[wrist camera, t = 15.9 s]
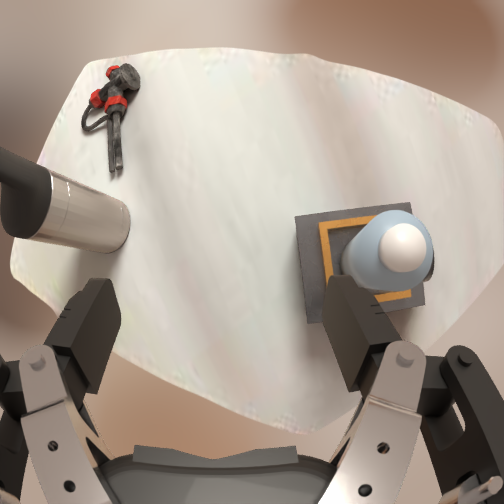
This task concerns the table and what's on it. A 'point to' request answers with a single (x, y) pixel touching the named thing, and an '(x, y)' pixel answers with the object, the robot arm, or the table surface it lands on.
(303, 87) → the table surface
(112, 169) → the valve
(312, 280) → the gold-trimmed base block
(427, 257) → the light blue bottle
